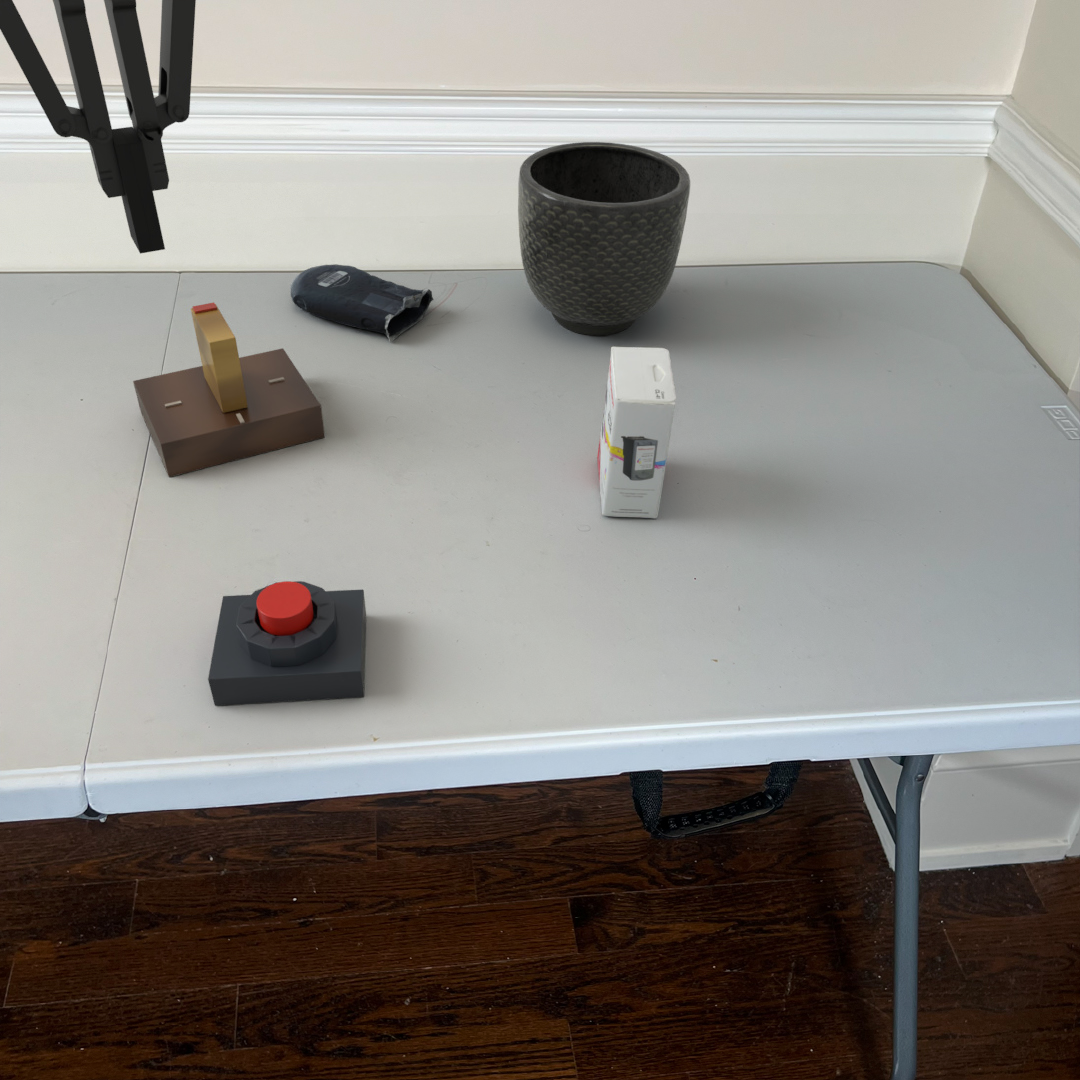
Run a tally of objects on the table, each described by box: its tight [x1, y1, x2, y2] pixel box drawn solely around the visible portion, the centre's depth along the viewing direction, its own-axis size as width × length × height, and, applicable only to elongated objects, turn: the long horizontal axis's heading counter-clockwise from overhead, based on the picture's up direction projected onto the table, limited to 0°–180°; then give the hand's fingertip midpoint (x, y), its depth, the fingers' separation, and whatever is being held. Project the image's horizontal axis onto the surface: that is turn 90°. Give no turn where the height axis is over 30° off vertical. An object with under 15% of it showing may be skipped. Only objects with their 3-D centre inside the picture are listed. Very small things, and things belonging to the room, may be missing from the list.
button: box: [256, 580, 314, 636], centre depth 70 cm, size 4×4×2 cm
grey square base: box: [207, 580, 367, 707], centre depth 72 cm, size 10×8×4 cm
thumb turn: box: [190, 302, 248, 413], centre depth 90 cm, size 6×2×7 cm, turn 28°
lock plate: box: [132, 348, 326, 478], centre depth 94 cm, size 14×11×4 cm
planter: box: [517, 141, 691, 336], centre depth 108 cm, size 17×17×16 cm
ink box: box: [596, 345, 677, 519], centre depth 86 cm, size 9×5×12 cm, turn 0°
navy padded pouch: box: [290, 263, 434, 343], centre depth 111 cm, size 9×6×15 cm
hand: (147, 242), depth 64 cm, fingers closed
